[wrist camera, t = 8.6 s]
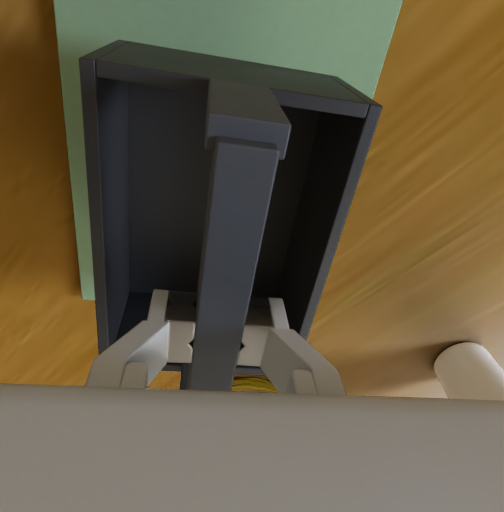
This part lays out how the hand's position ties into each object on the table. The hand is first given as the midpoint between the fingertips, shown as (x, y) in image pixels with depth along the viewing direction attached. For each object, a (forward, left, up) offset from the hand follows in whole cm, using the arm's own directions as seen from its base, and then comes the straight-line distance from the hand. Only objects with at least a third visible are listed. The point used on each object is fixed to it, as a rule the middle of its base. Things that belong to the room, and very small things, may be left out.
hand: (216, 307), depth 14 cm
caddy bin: (0, 0, -9) cm, 9 cm away
